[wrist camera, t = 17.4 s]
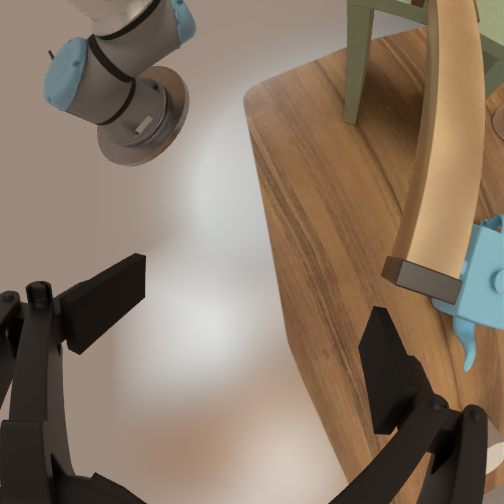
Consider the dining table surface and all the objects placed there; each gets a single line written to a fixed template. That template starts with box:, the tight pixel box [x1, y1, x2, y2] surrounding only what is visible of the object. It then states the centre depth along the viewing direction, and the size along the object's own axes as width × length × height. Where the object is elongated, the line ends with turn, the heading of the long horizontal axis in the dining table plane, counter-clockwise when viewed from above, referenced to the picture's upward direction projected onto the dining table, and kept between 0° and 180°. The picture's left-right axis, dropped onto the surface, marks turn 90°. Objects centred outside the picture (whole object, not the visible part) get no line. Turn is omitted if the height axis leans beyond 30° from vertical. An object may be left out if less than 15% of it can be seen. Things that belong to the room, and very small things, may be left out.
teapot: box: [431, 214, 504, 371], centre depth 33 cm, size 18×16×14 cm
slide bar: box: [381, 0, 485, 305], centre depth 12 cm, size 3×23×4 cm, turn 163°
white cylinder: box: [486, 417, 504, 474], centre depth 32 cm, size 8×8×12 cm
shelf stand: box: [344, 0, 504, 125], centre depth 26 cm, size 16×12×32 cm
